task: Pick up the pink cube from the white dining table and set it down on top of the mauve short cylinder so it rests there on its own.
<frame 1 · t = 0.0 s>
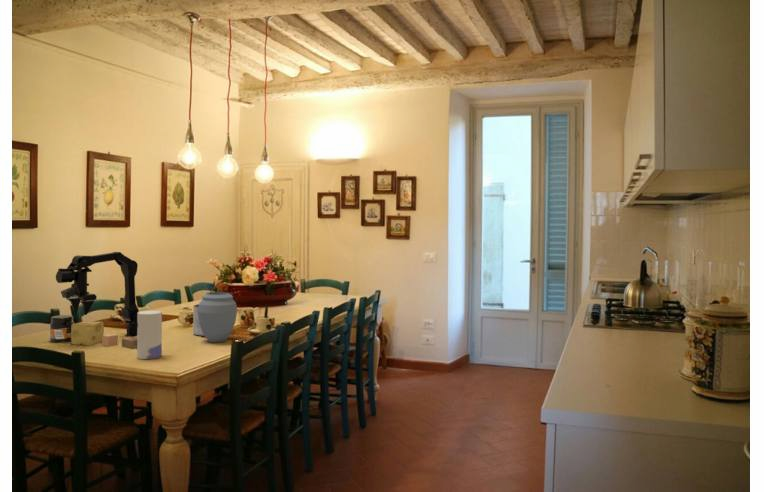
hand: (80, 313, 275), 15 cm above the table, fingers open, 9 cm apart
container: (149, 357, 252), on the table
pink cube: (109, 345, 274), on the table
vase: (217, 341, 289), on the table
supplement container: (62, 341, 282), on the table
planter: (208, 334, 306), on the table
cheese: (87, 343, 278), on the table
mauve short cylinder: (134, 346, 273), on the table
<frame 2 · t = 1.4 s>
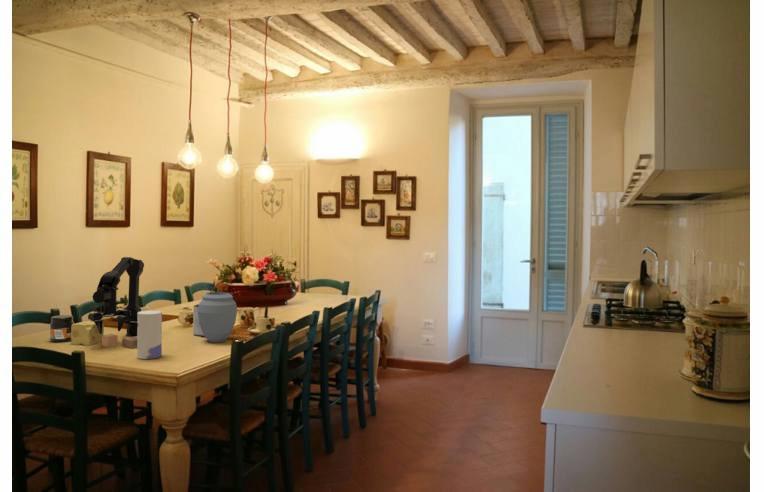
hand: (109, 332, 274), 6 cm above the table, fingers open, 9 cm apart
nothing on the table moved.
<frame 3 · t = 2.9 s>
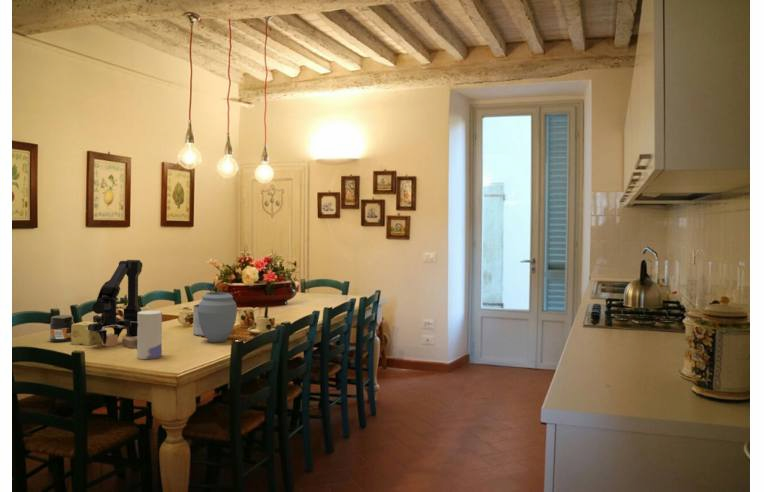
hand: (109, 342, 274), 1 cm above the table, fingers closed on pink cube, 5 cm apart
pink cube: (109, 345, 274), on the table, touching gripper
everything else where it was.
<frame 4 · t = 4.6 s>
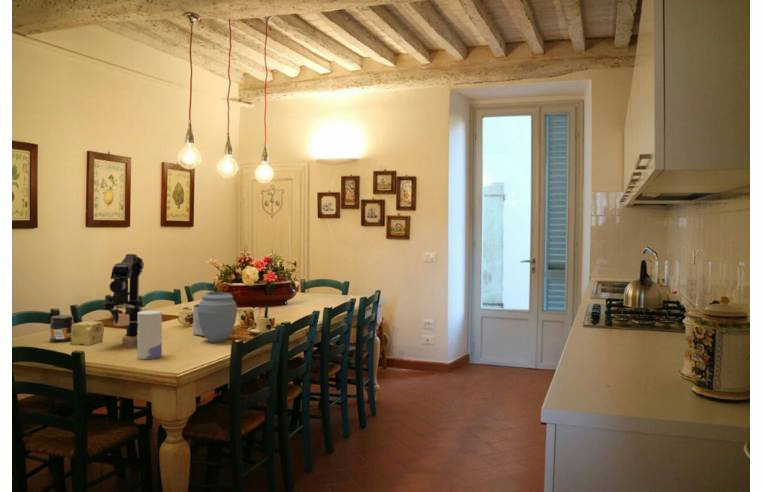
hand: (121, 322, 273), 11 cm above the table, fingers closed on pink cube, 5 cm apart
pink cube: (121, 324, 273), point 10 cm above the table, touching gripper
everything else where it was.
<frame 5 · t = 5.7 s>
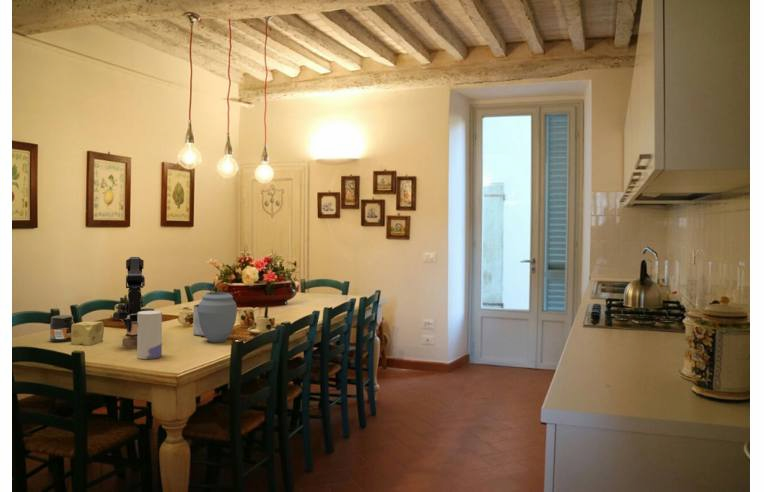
hand: (134, 331, 273), 7 cm above the table, fingers closed on pink cube, 5 cm apart
pink cube: (134, 333, 273), point 6 cm above the table, touching gripper
everything else where it was.
when the fingers open (6 cm above the table, at t = 6.7 s): pink cube drops 1 cm, point 4 cm above the table.
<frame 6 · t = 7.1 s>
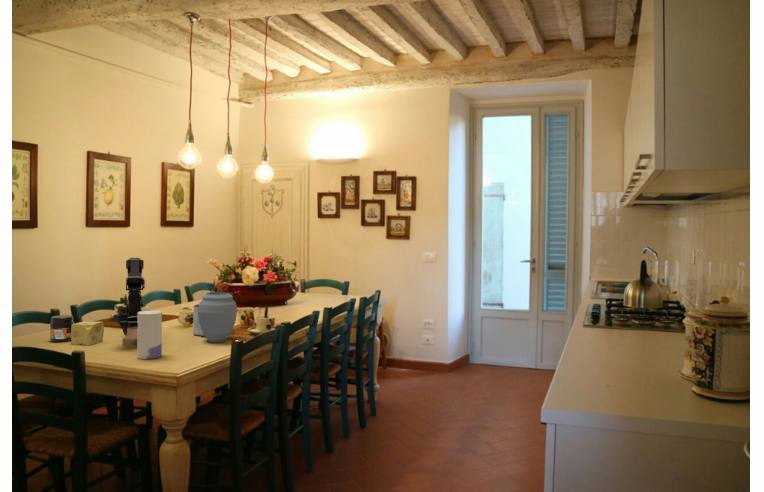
hand: (134, 333, 273), 6 cm above the table, fingers open, 9 cm apart
pink cube: (134, 338, 273), point 4 cm above the table
everything else where it was.
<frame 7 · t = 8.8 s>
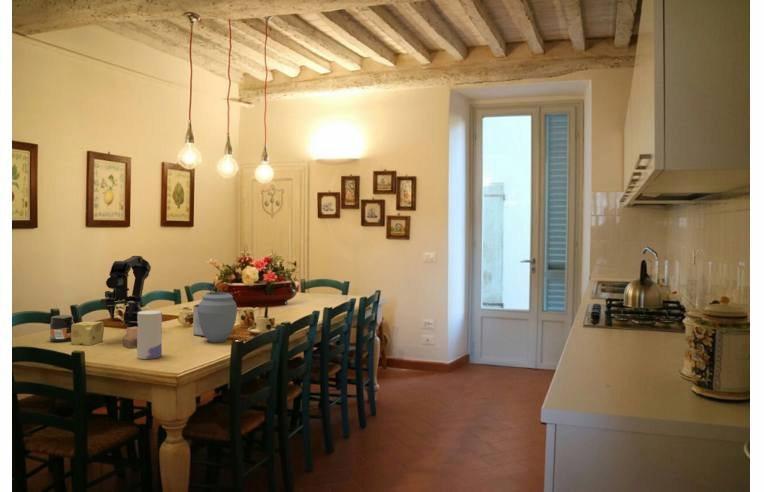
hand: (121, 317, 282), 12 cm above the table, fingers open, 9 cm apart
nothing on the table moved.
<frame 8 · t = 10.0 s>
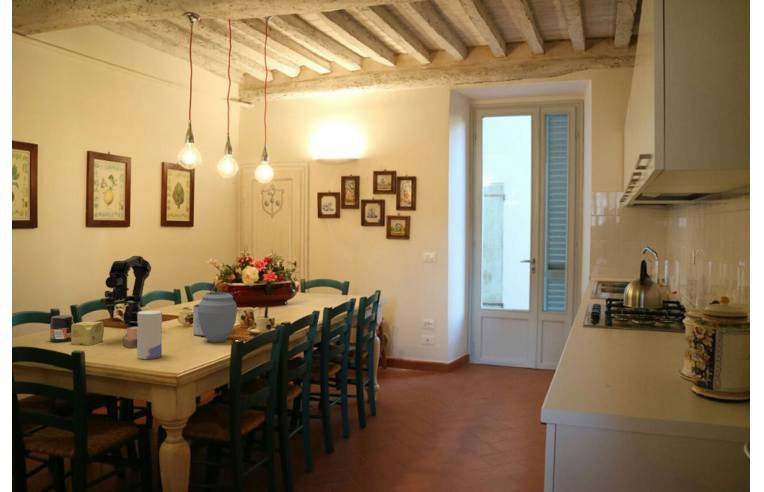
hand: (120, 317, 282), 12 cm above the table, fingers open, 9 cm apart
nothing on the table moved.
at the end: pink cube 0.1 cm off-centre on the mauve short cylinder, point 4.2 cm above the mauve short cylinder's base; pink cube tilted 0°; the gripper is holding nothing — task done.
